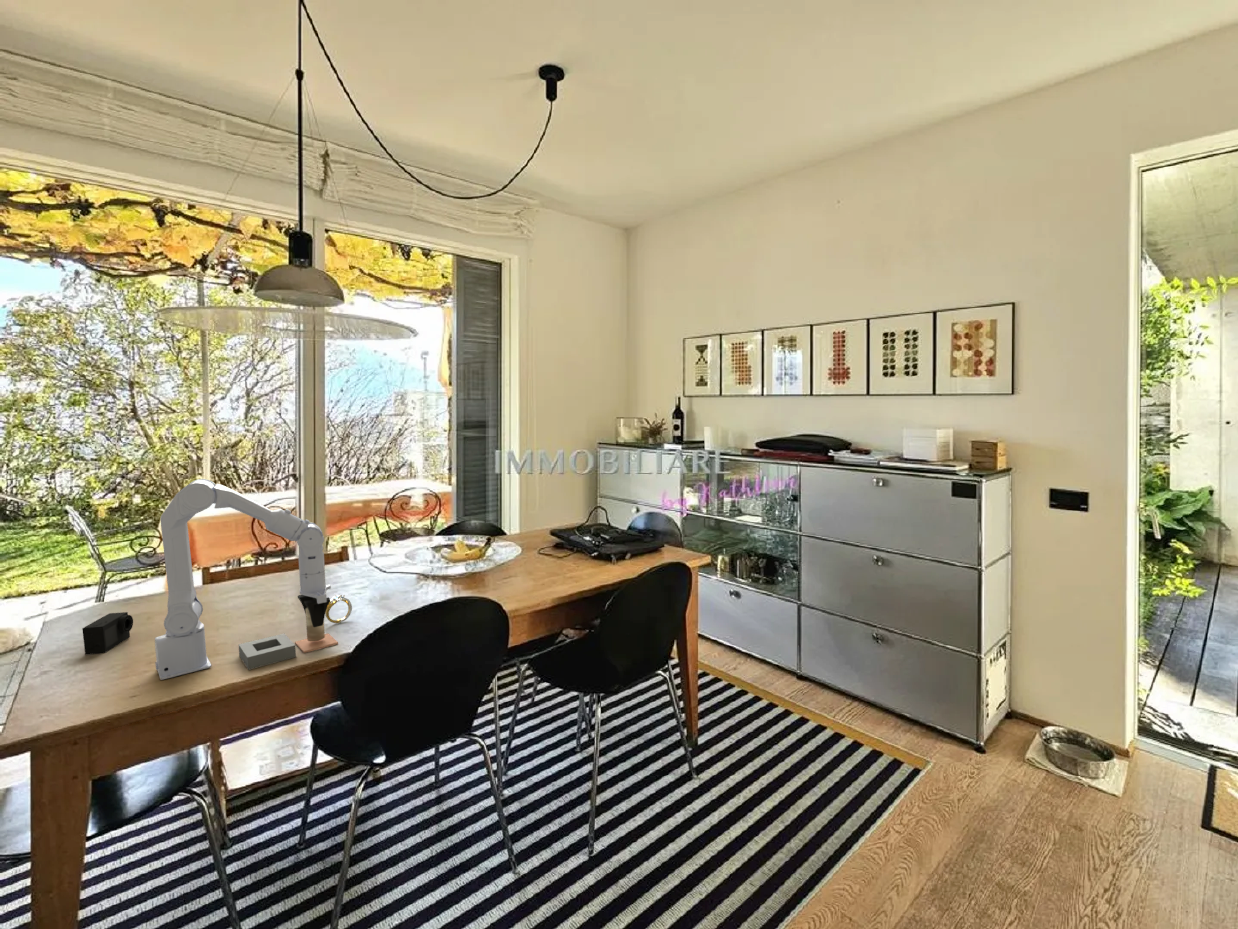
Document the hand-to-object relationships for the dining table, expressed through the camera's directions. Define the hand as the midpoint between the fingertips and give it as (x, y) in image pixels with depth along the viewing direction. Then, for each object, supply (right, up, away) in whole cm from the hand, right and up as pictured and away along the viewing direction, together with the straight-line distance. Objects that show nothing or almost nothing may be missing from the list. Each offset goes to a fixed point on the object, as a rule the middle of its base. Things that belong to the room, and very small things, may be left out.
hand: (315, 623), depth 149 cm
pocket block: (-8, -6, -7) cm, 12 cm away
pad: (0, -5, +1) cm, 5 cm away
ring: (-1, -4, +15) cm, 15 cm away
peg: (0, -4, 0) cm, 4 cm away
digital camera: (-52, -6, 0) cm, 53 cm away
